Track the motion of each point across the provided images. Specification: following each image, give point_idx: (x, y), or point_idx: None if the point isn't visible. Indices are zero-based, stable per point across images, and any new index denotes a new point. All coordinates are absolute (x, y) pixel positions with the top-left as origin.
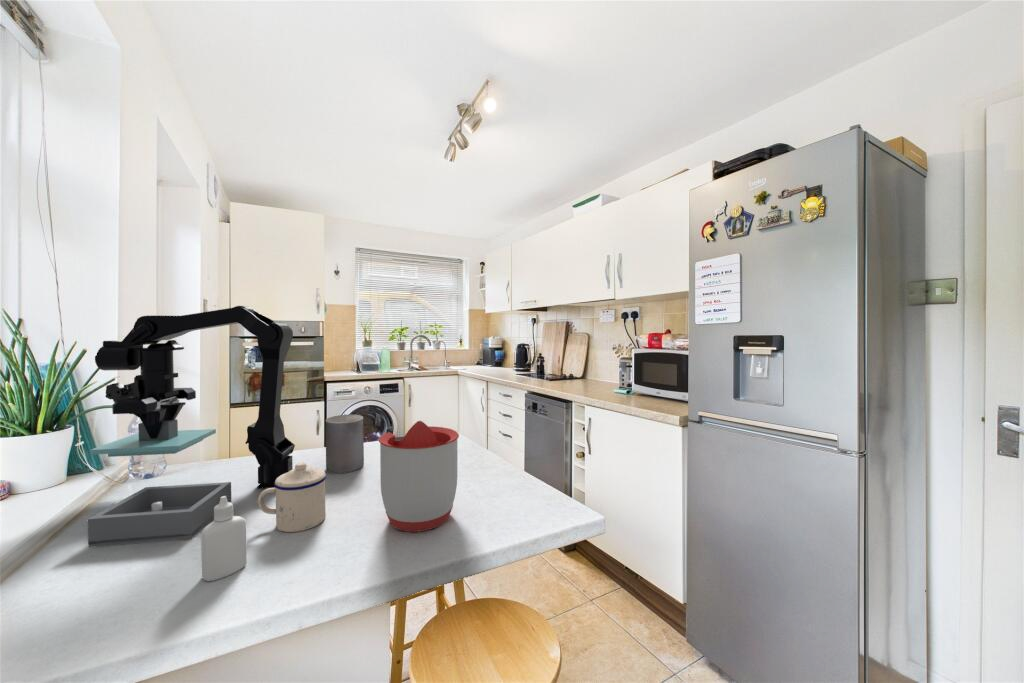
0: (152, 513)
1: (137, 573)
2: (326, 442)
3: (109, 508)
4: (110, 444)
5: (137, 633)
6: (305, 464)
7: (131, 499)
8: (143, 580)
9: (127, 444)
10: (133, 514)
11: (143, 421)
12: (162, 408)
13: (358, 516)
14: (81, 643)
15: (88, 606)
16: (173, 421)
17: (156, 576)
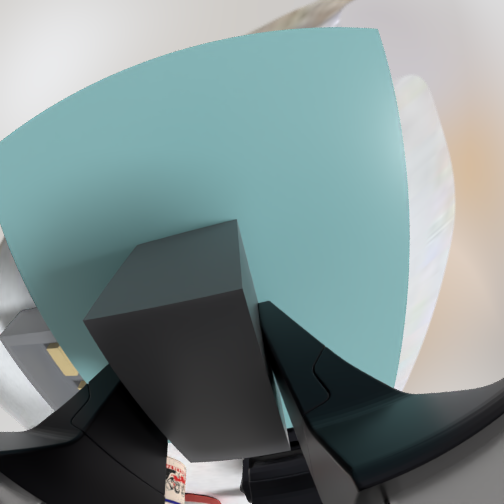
0: (49, 402)
1: (35, 393)
2: None
3: (21, 338)
4: (50, 141)
5: (22, 420)
6: None
7: (52, 341)
8: (35, 402)
9: (70, 248)
10: (34, 384)
11: (67, 415)
12: (327, 489)
13: (187, 483)
14: (3, 401)
15: (7, 385)
16: (242, 455)
17: (42, 407)
